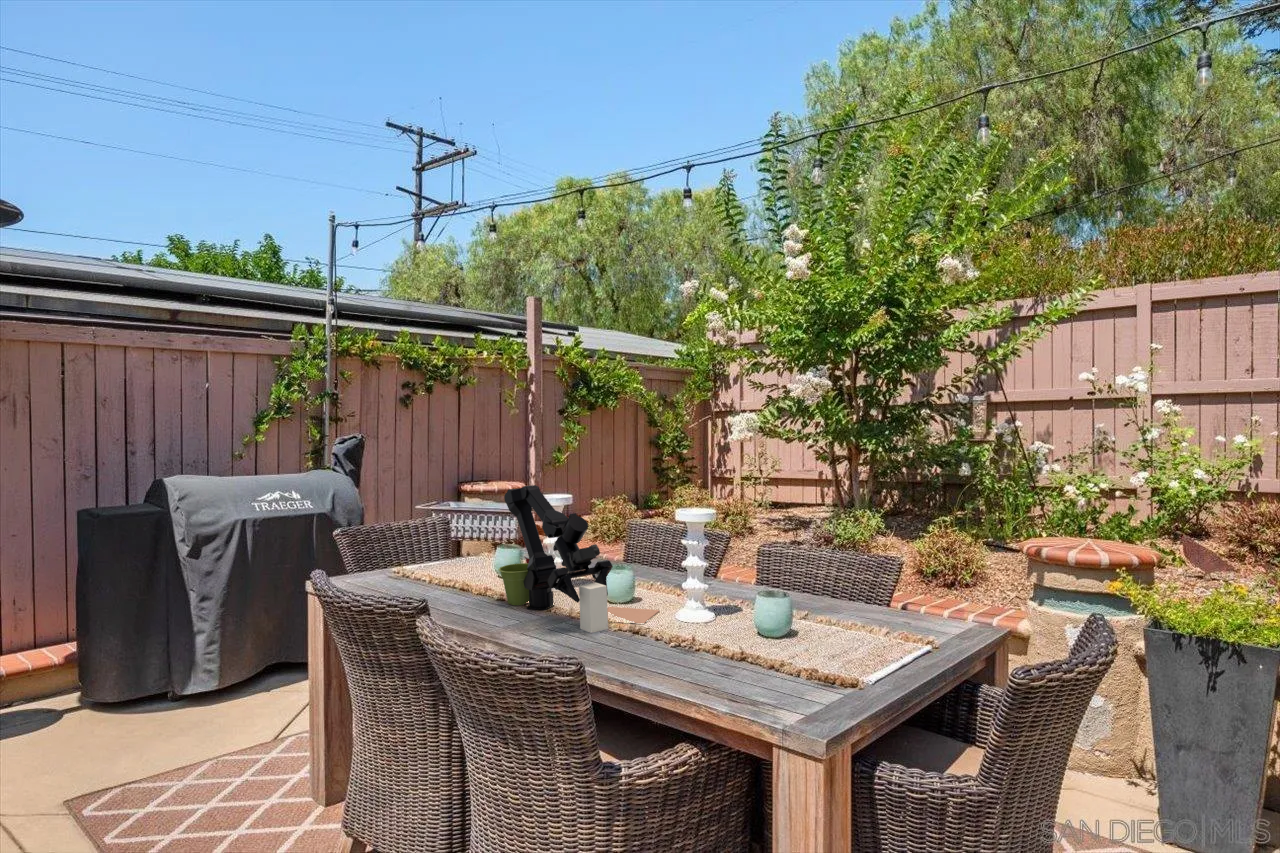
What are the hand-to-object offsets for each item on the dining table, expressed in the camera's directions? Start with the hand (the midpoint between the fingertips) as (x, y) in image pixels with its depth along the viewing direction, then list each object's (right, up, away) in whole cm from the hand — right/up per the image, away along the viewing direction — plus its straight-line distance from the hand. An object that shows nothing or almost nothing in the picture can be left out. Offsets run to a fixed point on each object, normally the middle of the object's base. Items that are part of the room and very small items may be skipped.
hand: (592, 598), depth 218 cm
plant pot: (-25, -8, +30) cm, 40 cm away
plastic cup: (-20, -7, +47) cm, 51 cm away
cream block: (0, -8, 0) cm, 8 cm away
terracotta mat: (+9, -8, +12) cm, 17 cm away
